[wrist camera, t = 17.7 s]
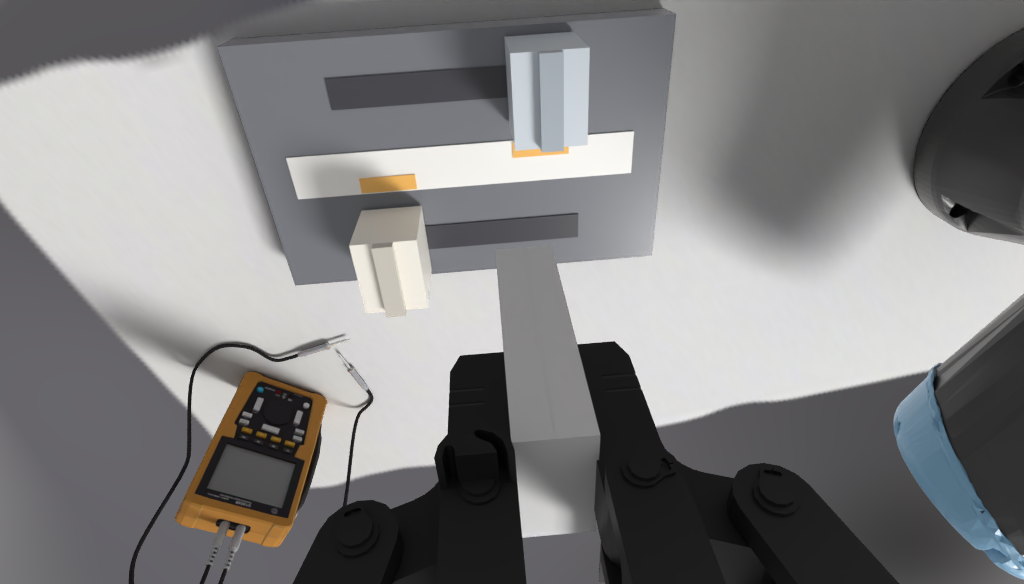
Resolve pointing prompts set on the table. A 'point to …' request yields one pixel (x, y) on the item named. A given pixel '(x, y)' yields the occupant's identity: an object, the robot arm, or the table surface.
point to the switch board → (451, 140)
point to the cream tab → (392, 260)
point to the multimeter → (255, 462)
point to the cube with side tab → (547, 90)
